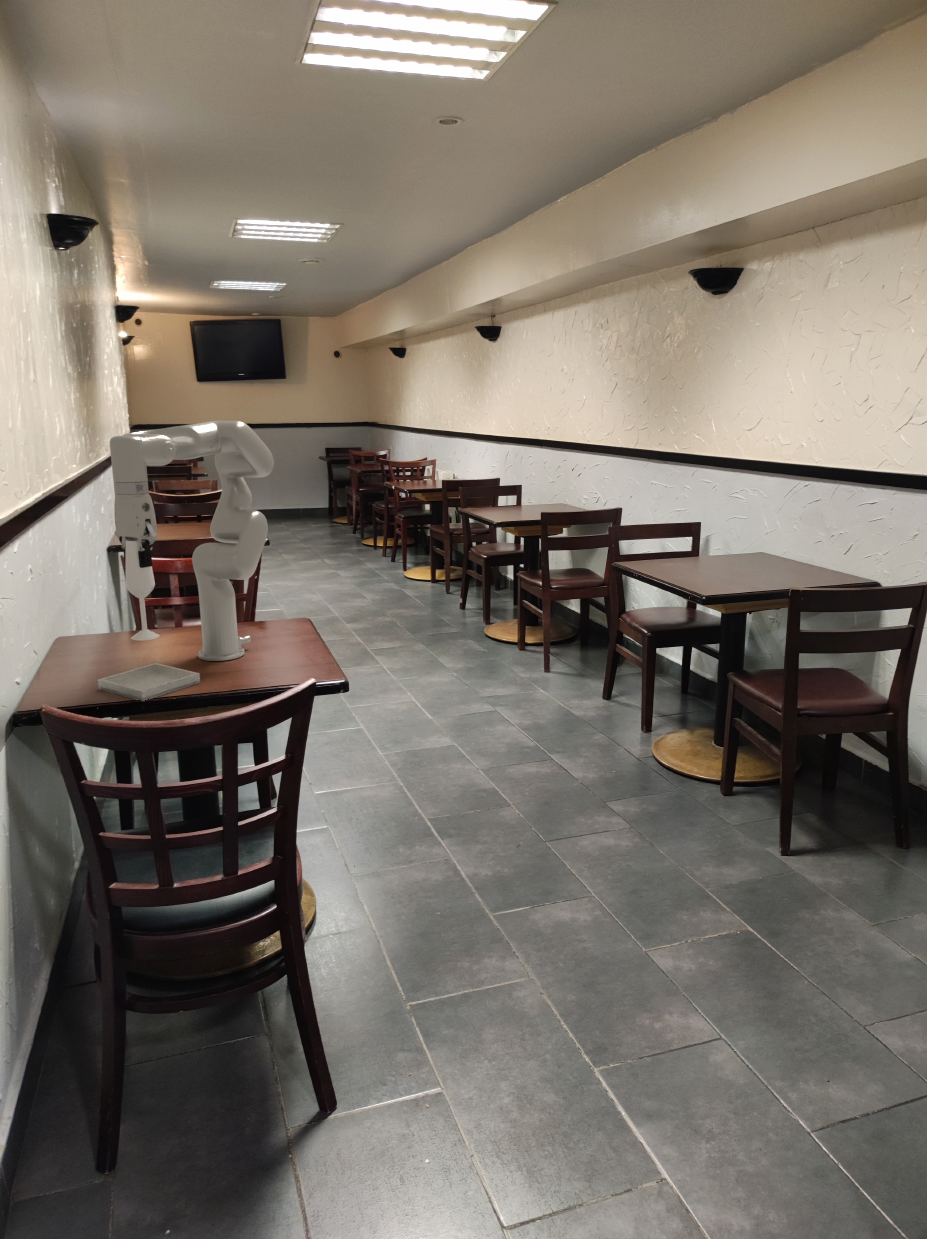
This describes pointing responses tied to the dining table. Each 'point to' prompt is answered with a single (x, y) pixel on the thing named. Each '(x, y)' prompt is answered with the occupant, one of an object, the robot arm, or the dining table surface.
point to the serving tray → (148, 681)
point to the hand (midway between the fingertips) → (138, 565)
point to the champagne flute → (139, 585)
